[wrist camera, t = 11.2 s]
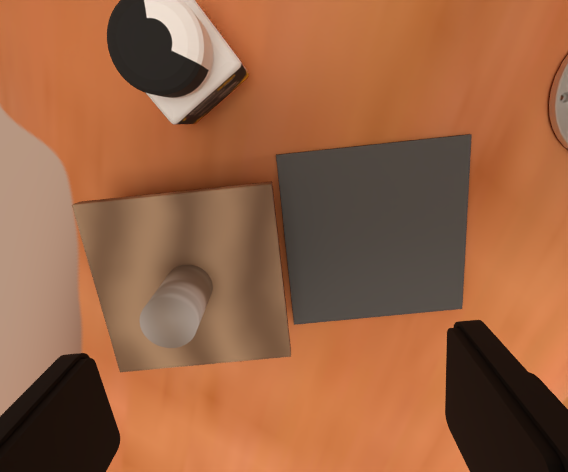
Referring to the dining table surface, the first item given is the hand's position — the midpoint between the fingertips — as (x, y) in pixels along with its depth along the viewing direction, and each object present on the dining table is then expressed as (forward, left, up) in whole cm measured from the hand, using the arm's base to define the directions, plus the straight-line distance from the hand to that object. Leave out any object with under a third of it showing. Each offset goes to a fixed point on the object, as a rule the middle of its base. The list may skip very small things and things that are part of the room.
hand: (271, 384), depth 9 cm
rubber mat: (-10, +6, -29) cm, 31 cm away
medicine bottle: (+6, -12, -29) cm, 32 cm away
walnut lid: (+8, +6, -22) cm, 24 cm away
